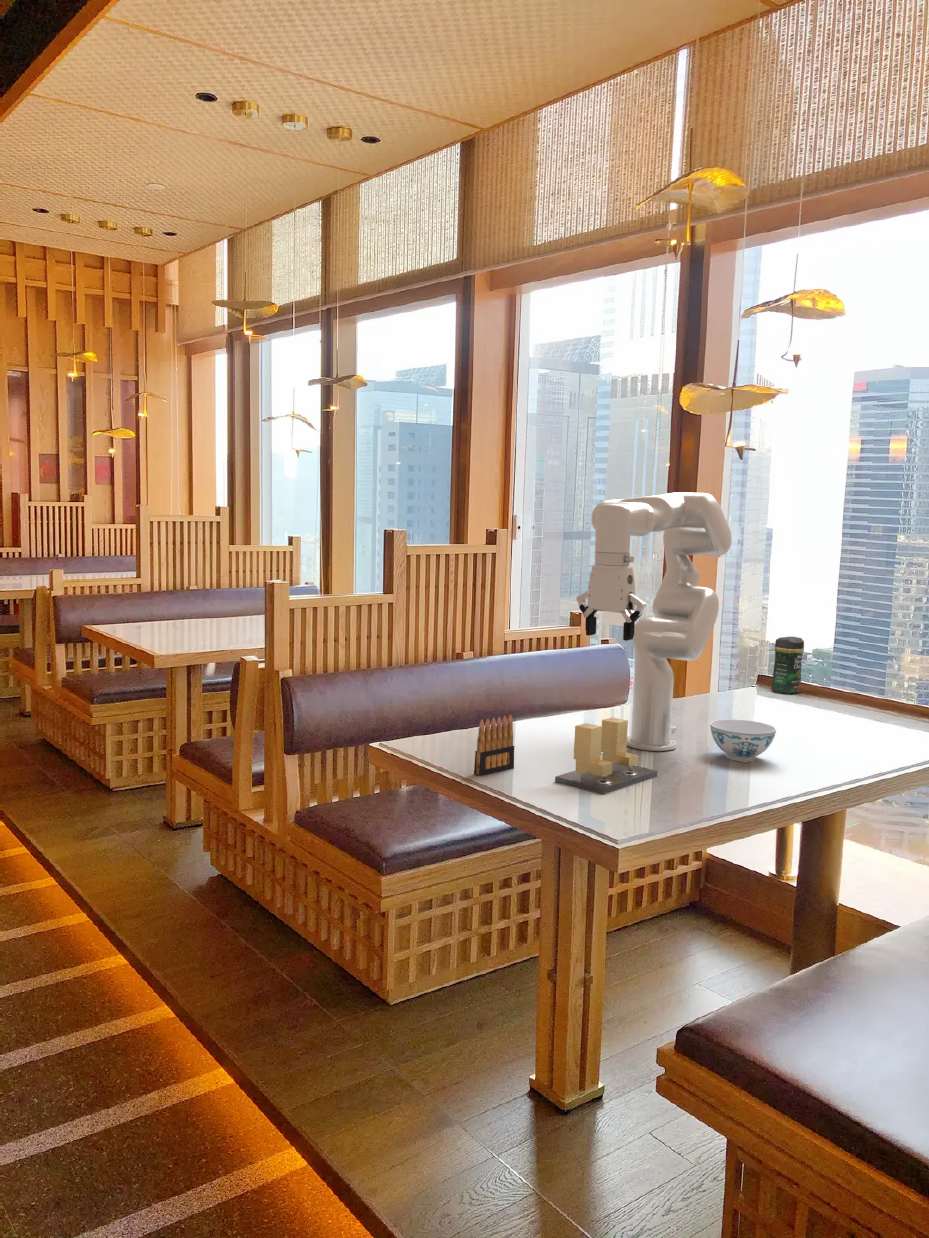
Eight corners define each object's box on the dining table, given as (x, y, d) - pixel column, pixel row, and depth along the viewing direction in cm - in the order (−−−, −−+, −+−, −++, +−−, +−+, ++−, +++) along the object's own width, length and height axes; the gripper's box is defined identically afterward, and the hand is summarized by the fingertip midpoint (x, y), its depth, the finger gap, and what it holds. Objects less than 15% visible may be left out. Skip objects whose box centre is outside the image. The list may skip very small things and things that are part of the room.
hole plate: (610, 765, 221) (613, 711, 220) (657, 775, 214) (660, 720, 212) (555, 781, 206) (557, 724, 204) (603, 794, 198) (606, 734, 197)
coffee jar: (788, 695, 320) (792, 638, 318) (767, 691, 326) (771, 636, 324) (804, 692, 327) (808, 637, 325) (783, 689, 333) (787, 634, 331)
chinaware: (780, 756, 236) (782, 725, 235) (765, 769, 223) (767, 736, 222) (718, 747, 243) (720, 716, 242) (700, 759, 230) (702, 726, 229)
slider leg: (609, 763, 216) (612, 717, 214) (637, 769, 211) (640, 722, 210) (599, 766, 213) (602, 719, 211) (627, 772, 208) (630, 725, 207)
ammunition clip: (508, 766, 217) (510, 713, 216) (514, 768, 216) (516, 714, 214) (473, 774, 210) (475, 719, 208) (479, 776, 208) (482, 720, 207)
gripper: (655, 561, 213) (652, 639, 216) (588, 557, 224) (586, 631, 227) (637, 563, 208) (634, 644, 210) (569, 558, 219) (567, 634, 221)
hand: (609, 637), depth 218 cm, fingers open, 9 cm apart
